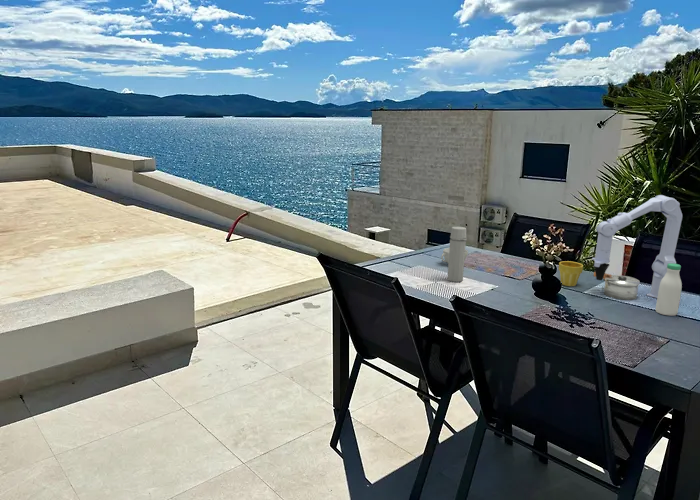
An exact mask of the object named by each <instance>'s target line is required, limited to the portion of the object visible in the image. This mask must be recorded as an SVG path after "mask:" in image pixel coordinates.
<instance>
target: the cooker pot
mask: <svg viewBox="0 0 700 500" xmlns="http://www.w3.org/2000/svg"><path fill="white" fill-rule="evenodd" d="M602 281H604V286H603V287H604V288H603V294H604V295H605V296H606V297H608V296H609V298H611V297H612V298H611V299H615V300H622V301H633V300H636V299H637V298H638V291H639V286H635V287H625V286H618V285H614V284H610V283H608V282H606V281H605V279H602Z"/></svg>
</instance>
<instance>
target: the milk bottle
mask: <svg viewBox="0 0 700 500" xmlns="http://www.w3.org/2000/svg"><path fill="white" fill-rule="evenodd" d="M681 268H682V266H681V265H680V264H678V263H676V264H673V263H669V264H668V265H667V272H666V274H665V276H664V277H663V278H662V280H661V282H660V286H659V291H658V297H657V298H656V304H655V312H656V313H658V314H660V315H664V316H672V317H673V316H677V315H678V312H679V308H680V302H681V297H682V296H681V295H682V288H683V286H682V285H683V283H682V279H681V276H680V271H681Z"/></svg>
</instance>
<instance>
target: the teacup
mask: <svg viewBox="0 0 700 500" xmlns="http://www.w3.org/2000/svg"><path fill="white" fill-rule="evenodd" d="M449 248H450V247H446V248H444V249H443V251H442V252H443V253H442V254H441V259H440V260H441V261H442V262H443V263H447V264H448V263H449ZM468 253H469V250H467V249H465V258H464V262H465V261H466V259H467V258H468V257H467V256H468ZM443 258H444V259H443Z"/></svg>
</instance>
